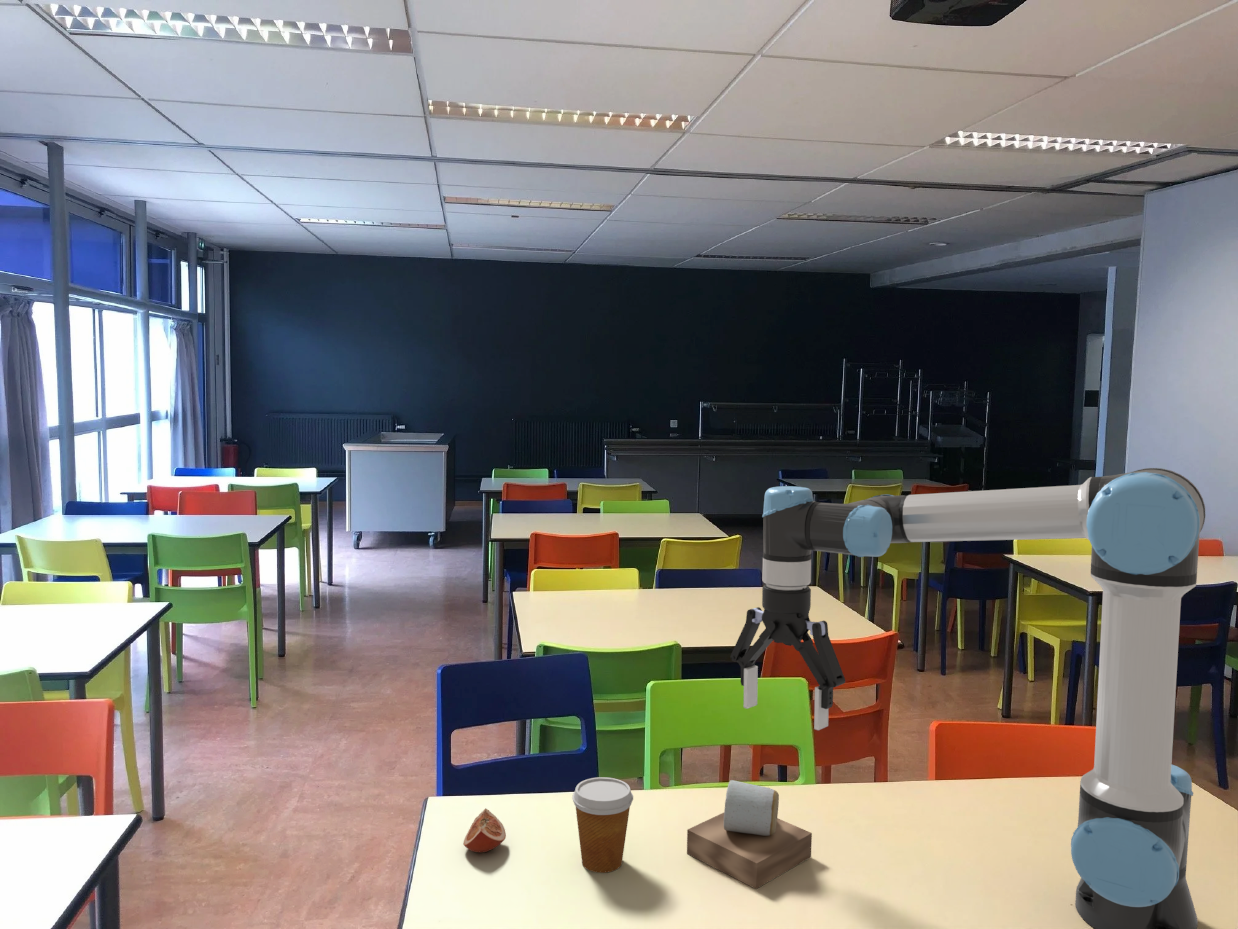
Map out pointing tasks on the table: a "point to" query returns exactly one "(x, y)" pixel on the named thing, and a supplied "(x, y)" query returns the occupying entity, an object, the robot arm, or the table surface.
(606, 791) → the disposable coffee cup
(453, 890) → the table surface
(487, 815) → the fruit slice
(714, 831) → the block
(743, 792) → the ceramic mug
